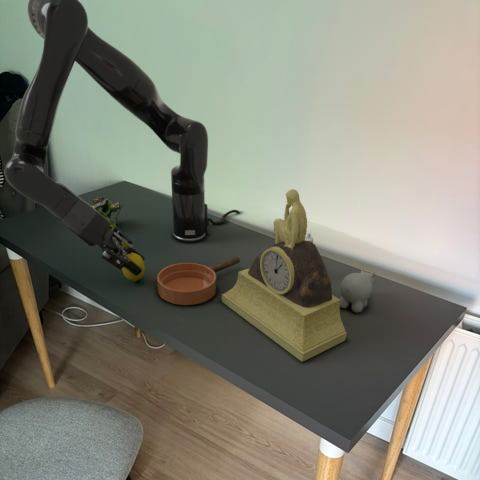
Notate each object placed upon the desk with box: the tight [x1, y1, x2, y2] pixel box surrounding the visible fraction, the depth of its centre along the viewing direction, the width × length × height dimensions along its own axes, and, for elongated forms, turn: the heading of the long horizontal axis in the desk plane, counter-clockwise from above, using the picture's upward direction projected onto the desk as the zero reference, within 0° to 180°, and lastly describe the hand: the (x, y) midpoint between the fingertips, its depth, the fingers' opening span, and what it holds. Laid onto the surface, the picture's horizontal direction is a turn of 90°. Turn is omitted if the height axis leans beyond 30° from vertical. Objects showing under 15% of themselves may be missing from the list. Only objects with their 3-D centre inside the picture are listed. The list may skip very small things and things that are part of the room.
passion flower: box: [91, 196, 123, 229], centre depth 152 cm, size 11×11×12 cm
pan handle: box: [206, 256, 241, 274], centre depth 131 cm, size 11×2×2 cm, turn 133°
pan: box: [156, 262, 217, 306], centre depth 125 cm, size 14×14×4 cm
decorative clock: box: [221, 188, 348, 363], centre depth 108 cm, size 28×13×30 cm, turn 37°
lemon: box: [121, 253, 146, 283], centre depth 127 cm, size 6×6×8 cm
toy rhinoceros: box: [339, 267, 375, 314], centre depth 122 cm, size 7×12×8 cm, turn 141°
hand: (140, 266), depth 127 cm, fingers closed on lemon, 5 cm apart
